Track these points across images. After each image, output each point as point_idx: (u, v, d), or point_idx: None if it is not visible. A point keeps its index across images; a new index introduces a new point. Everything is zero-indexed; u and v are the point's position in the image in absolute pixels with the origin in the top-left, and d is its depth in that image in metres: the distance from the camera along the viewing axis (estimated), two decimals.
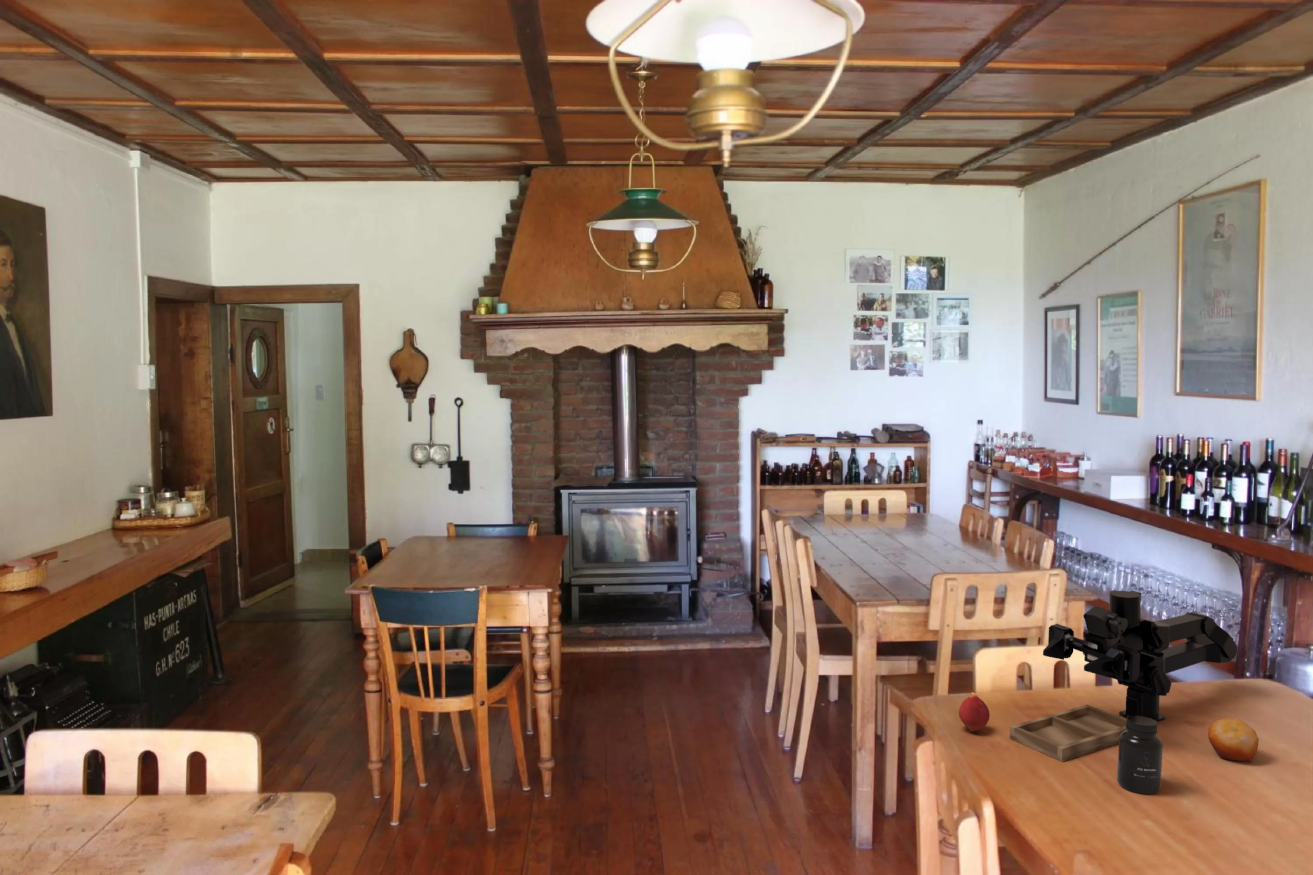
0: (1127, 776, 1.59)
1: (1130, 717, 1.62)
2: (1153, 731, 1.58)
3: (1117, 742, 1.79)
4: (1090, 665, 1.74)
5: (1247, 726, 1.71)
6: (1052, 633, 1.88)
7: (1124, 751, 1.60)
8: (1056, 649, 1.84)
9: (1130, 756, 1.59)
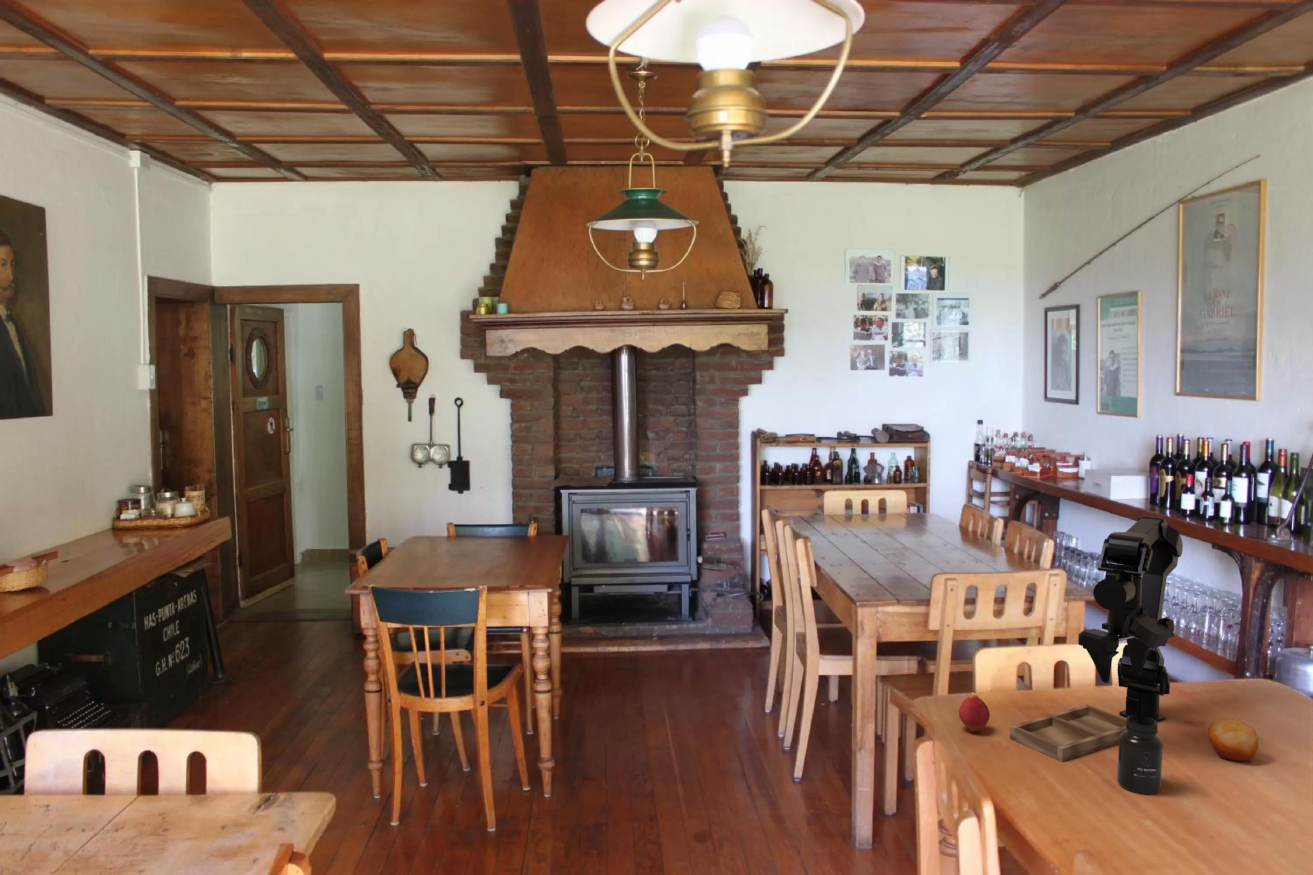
0: (1127, 776, 1.59)
1: (1130, 717, 1.62)
2: (1153, 731, 1.58)
3: (1117, 742, 1.79)
4: None
5: (1247, 726, 1.71)
6: None
7: (1124, 751, 1.60)
8: None
9: (1130, 756, 1.59)
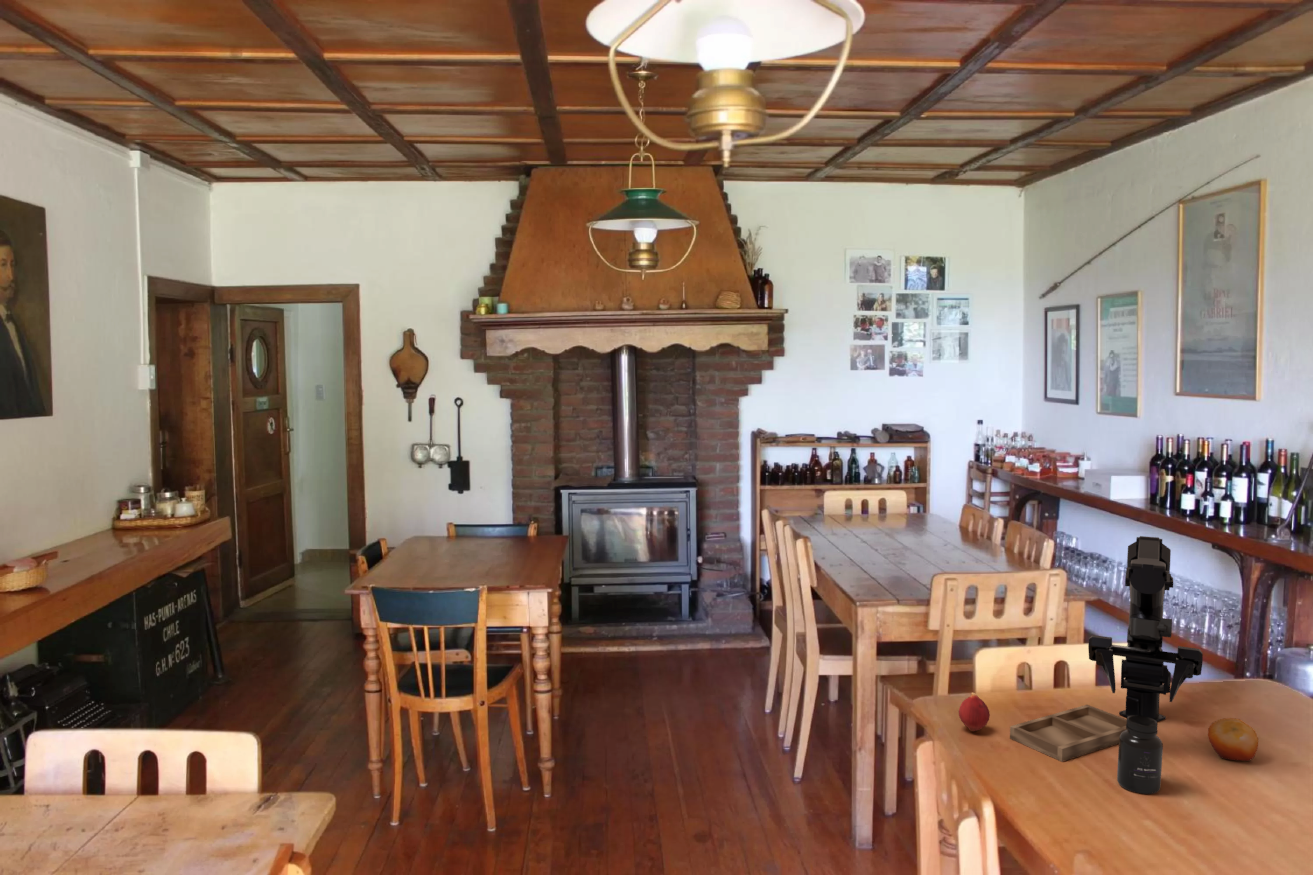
0: (1127, 776, 1.59)
1: (1130, 717, 1.62)
2: (1153, 731, 1.58)
3: (1117, 742, 1.79)
4: (1174, 695, 1.65)
5: (1247, 726, 1.71)
6: (1097, 653, 1.73)
7: (1124, 751, 1.60)
8: None
9: (1130, 756, 1.59)
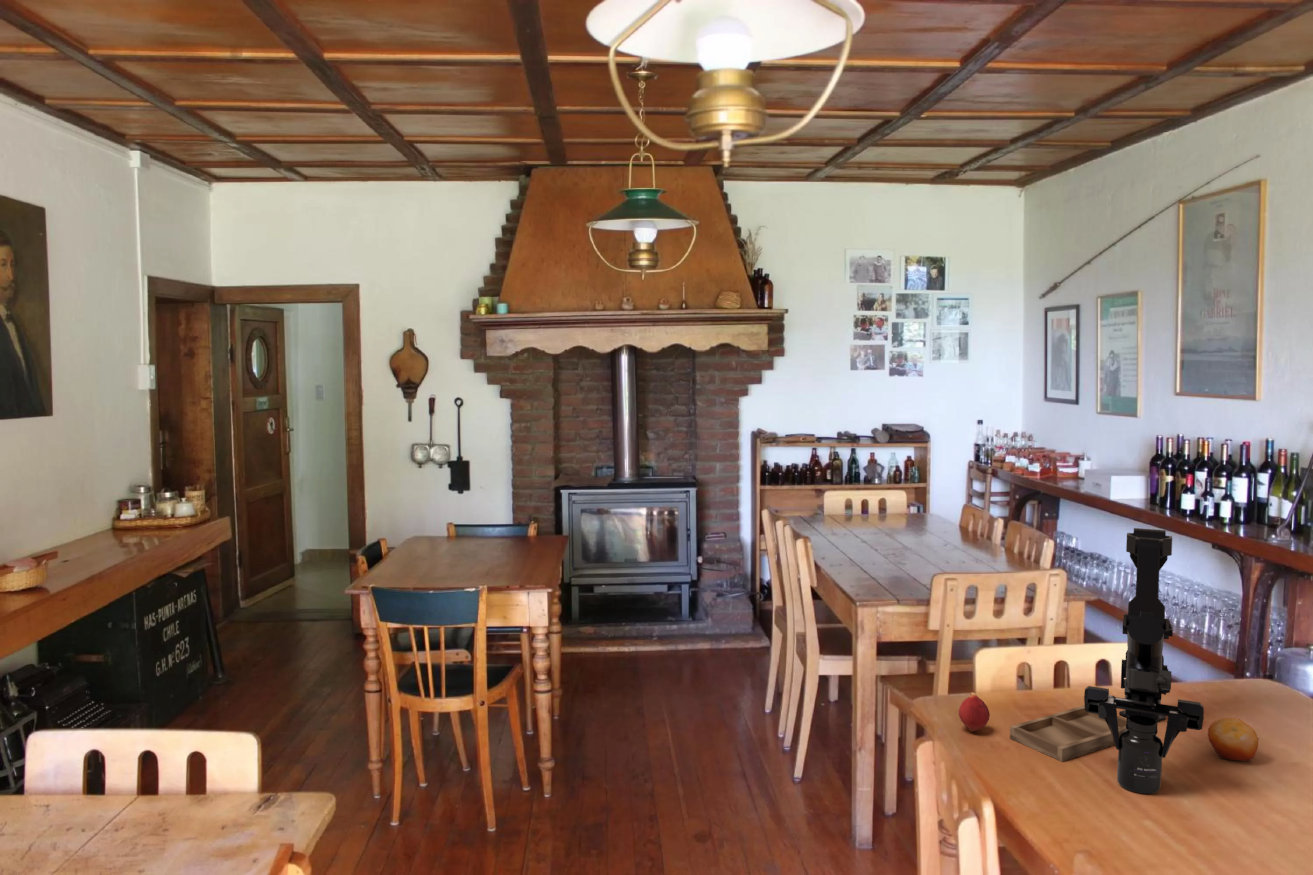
0: (1127, 776, 1.59)
1: (1130, 717, 1.62)
2: (1153, 731, 1.58)
3: None
4: (1167, 750, 1.58)
5: (1247, 726, 1.71)
6: (1100, 707, 1.65)
7: (1124, 750, 1.60)
8: None
9: (1130, 756, 1.59)
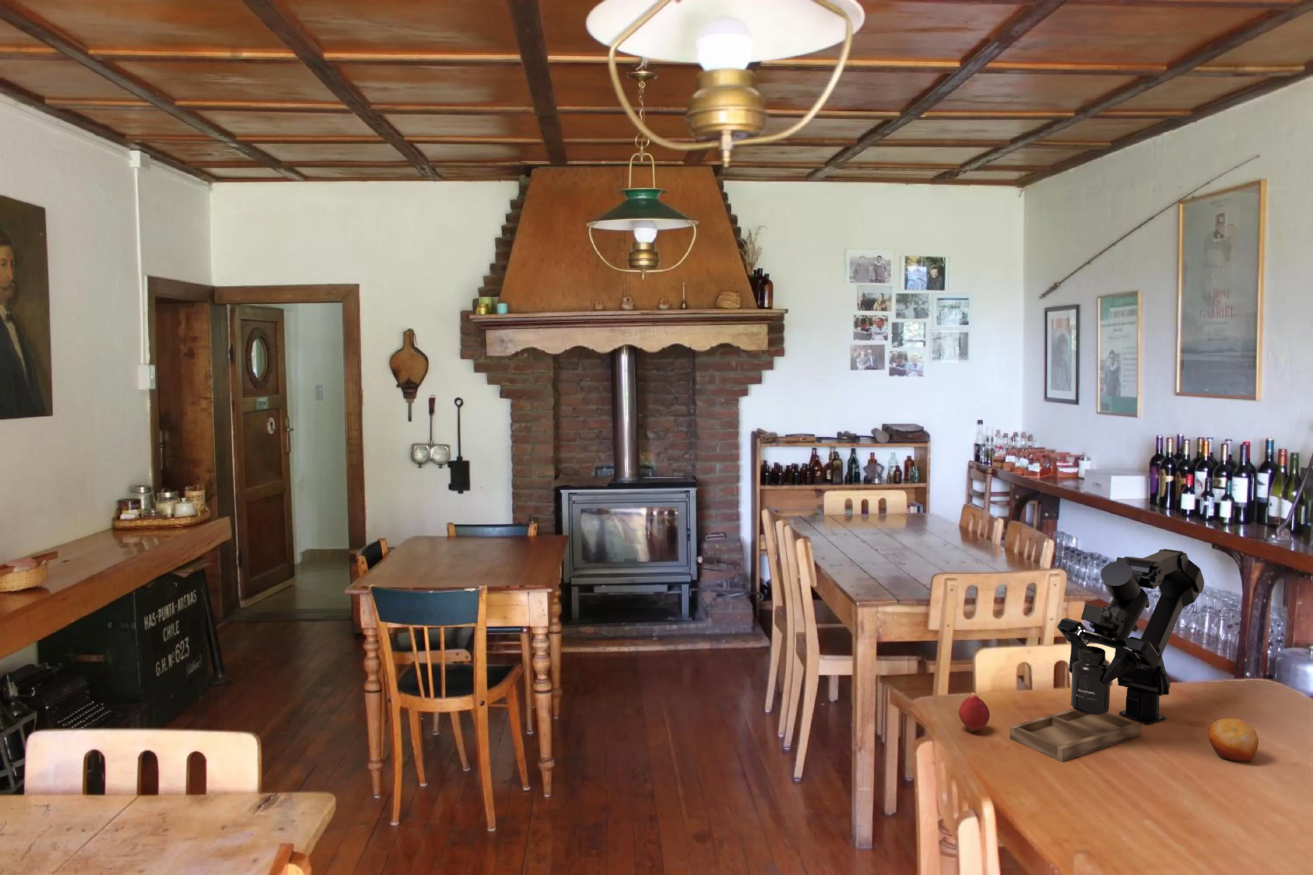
0: (1072, 696, 1.79)
1: (1085, 646, 1.80)
2: (1095, 659, 1.76)
3: (1117, 742, 1.79)
4: (1106, 678, 1.75)
5: (1247, 726, 1.71)
6: (1067, 636, 1.85)
7: (1072, 673, 1.80)
8: None
9: (1074, 678, 1.78)
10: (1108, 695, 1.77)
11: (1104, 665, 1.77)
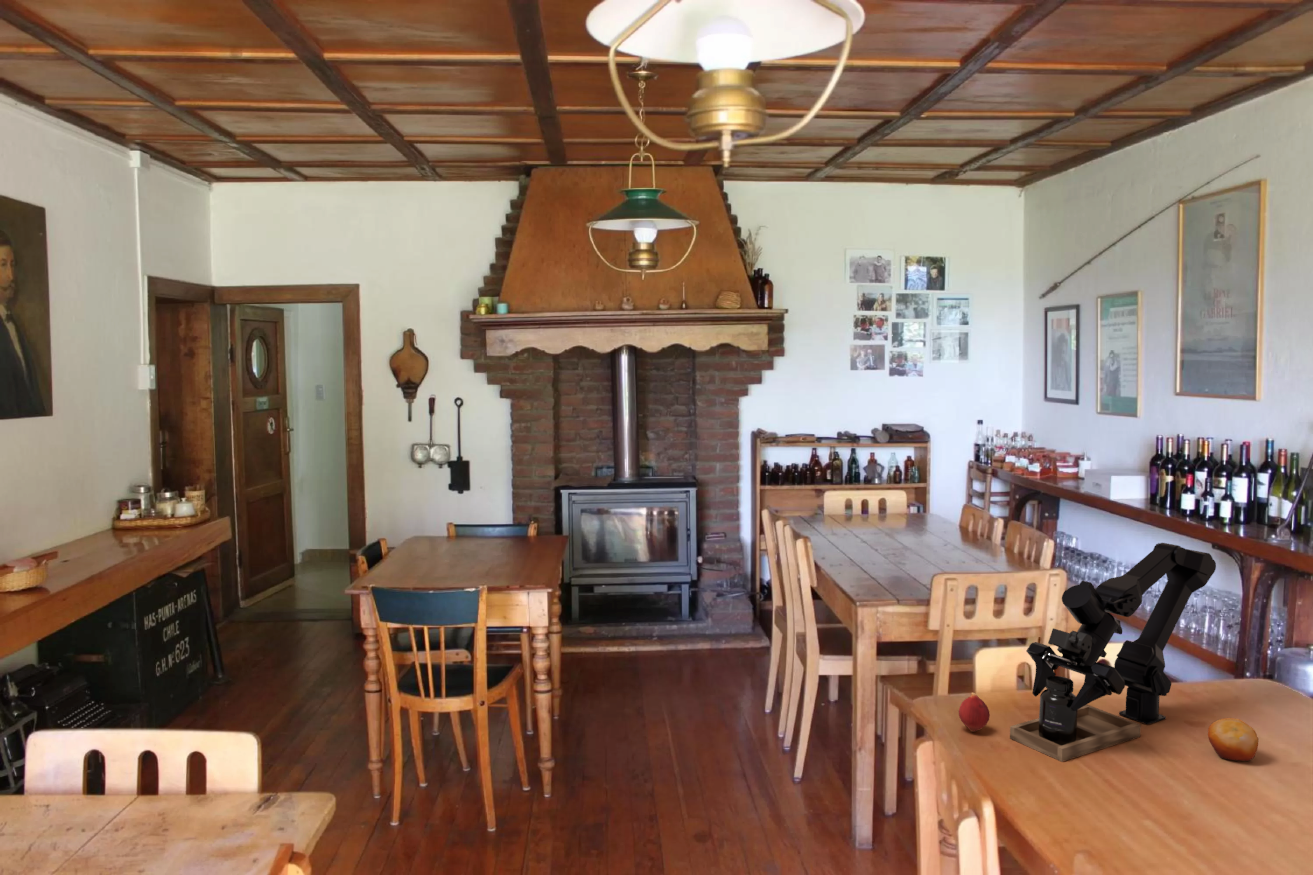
0: (1040, 726, 1.79)
1: (1053, 676, 1.80)
2: (1063, 690, 1.76)
3: (1117, 742, 1.79)
4: (1075, 704, 1.74)
5: (1247, 726, 1.71)
6: (1033, 659, 1.85)
7: (1040, 703, 1.79)
8: (1043, 679, 1.83)
9: (1041, 708, 1.78)
10: (1075, 726, 1.76)
11: (1072, 696, 1.76)
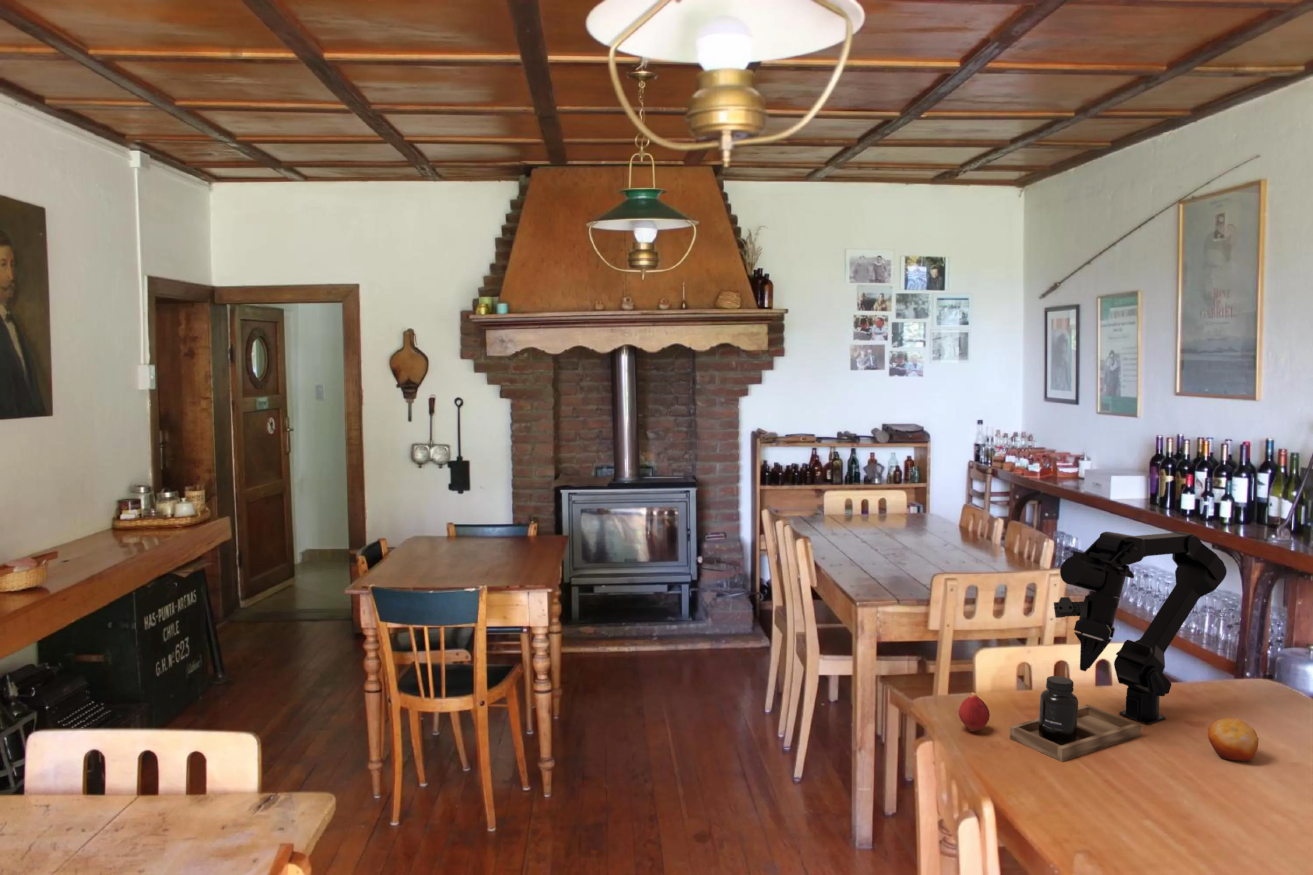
0: (1040, 726, 1.79)
1: (1053, 676, 1.80)
2: (1063, 690, 1.76)
3: (1117, 742, 1.79)
4: (1081, 664, 1.81)
5: (1247, 726, 1.71)
6: None
7: (1040, 703, 1.79)
8: None
9: (1041, 708, 1.78)
10: (1075, 726, 1.76)
11: (1072, 696, 1.76)
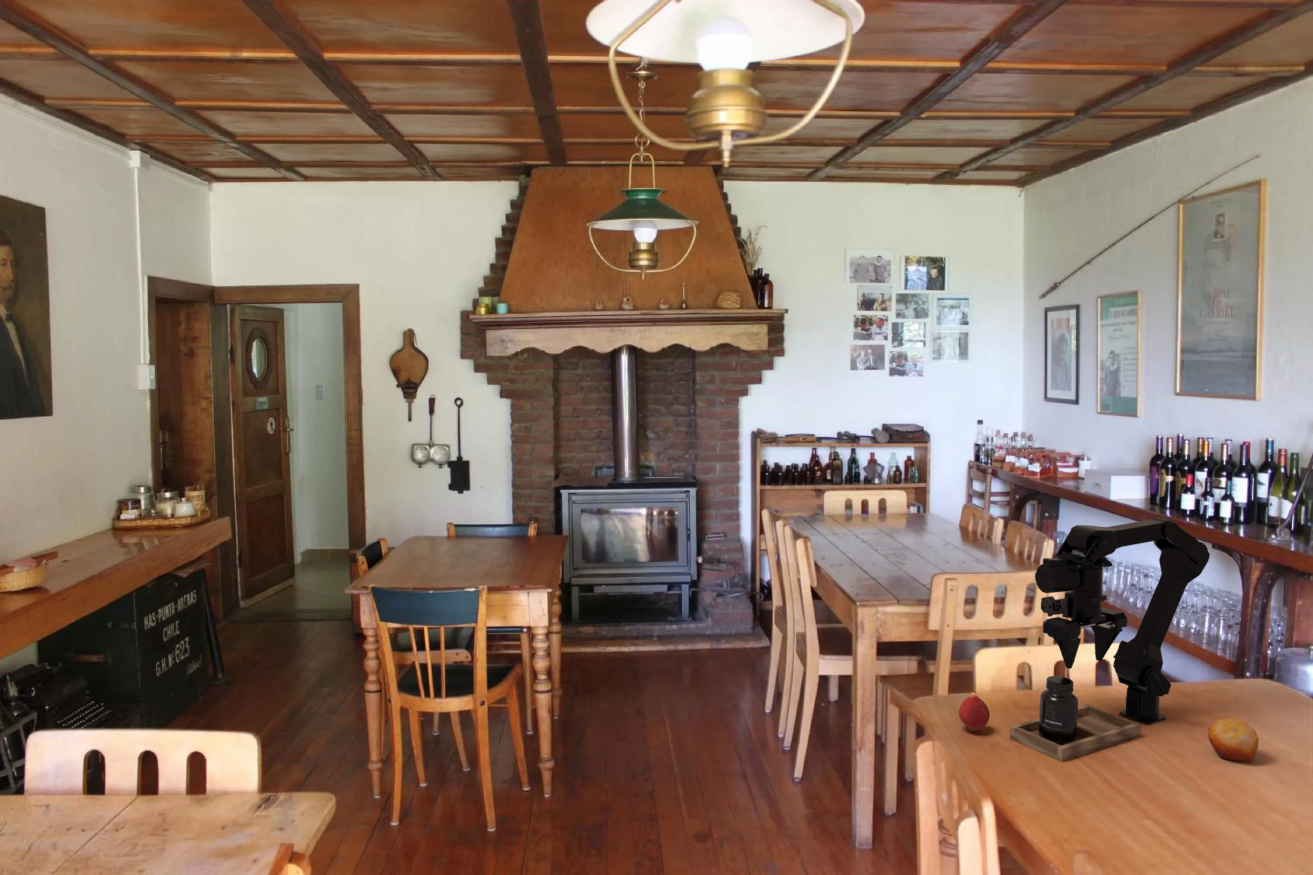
0: (1040, 726, 1.79)
1: (1053, 676, 1.80)
2: (1063, 690, 1.76)
3: (1117, 742, 1.79)
4: (1065, 662, 1.84)
5: (1247, 726, 1.71)
6: None
7: (1040, 703, 1.79)
8: (1100, 642, 1.88)
9: (1041, 708, 1.78)
10: (1075, 726, 1.76)
11: (1072, 696, 1.76)
